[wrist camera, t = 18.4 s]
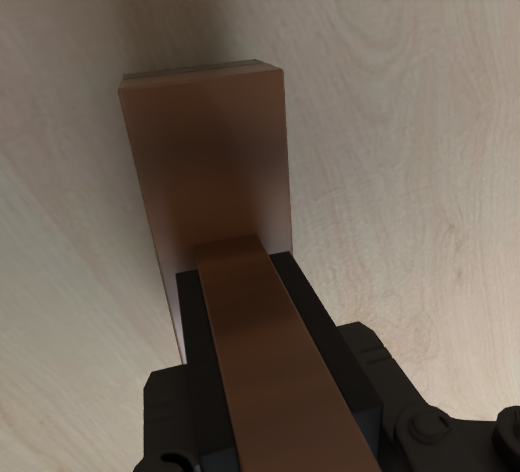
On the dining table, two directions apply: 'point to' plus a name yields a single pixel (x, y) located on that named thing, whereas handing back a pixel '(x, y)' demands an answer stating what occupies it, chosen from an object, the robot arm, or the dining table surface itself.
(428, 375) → the dining table surface
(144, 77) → the brush
